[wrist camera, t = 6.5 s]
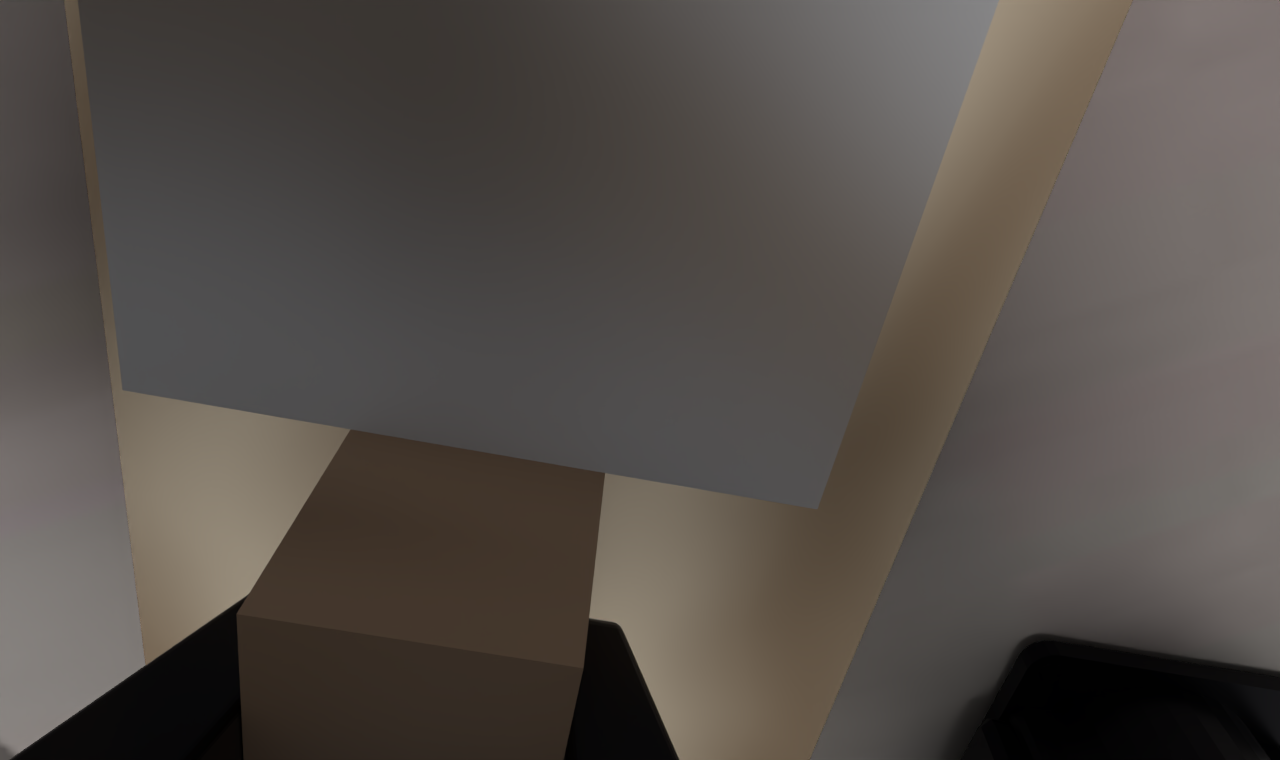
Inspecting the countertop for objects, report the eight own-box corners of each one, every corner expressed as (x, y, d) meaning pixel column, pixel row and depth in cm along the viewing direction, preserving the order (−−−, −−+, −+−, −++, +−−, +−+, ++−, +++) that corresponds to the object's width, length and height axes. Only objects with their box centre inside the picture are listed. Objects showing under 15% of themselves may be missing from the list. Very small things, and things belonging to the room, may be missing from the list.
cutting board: (1377, -690, 9) (1454, -755, 8) (738, 880, 22) (741, 920, 21) (-1, -1070, 8) (-83, -1190, 7) (187, 803, 21) (167, 841, 20)
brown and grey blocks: (661, 899, 11) (660, 1170, 9) (202, 835, 11) (68, 1100, 9) (1015, -138, 6) (1275, -178, 3) (96, -344, 5) (-388, -568, 3)
